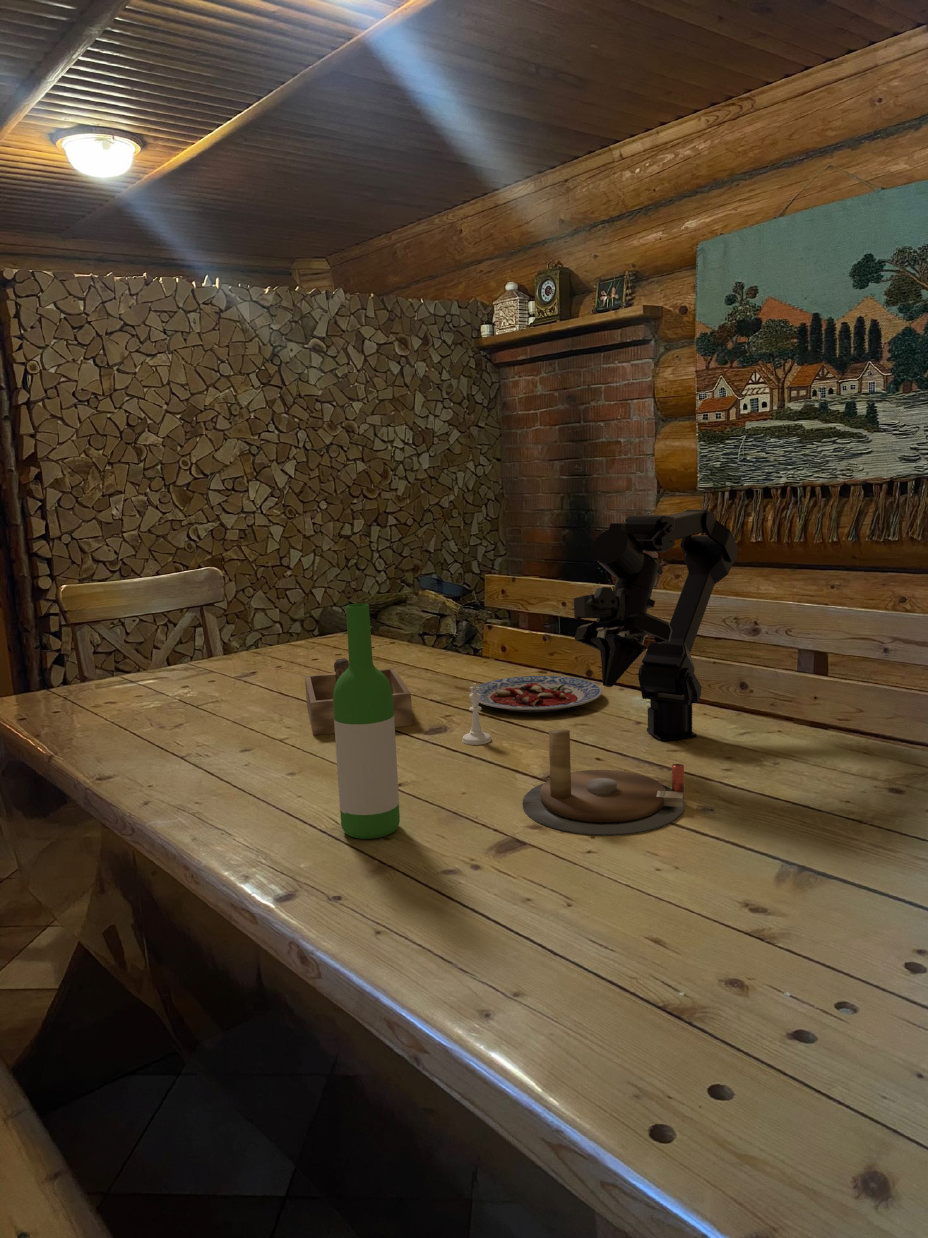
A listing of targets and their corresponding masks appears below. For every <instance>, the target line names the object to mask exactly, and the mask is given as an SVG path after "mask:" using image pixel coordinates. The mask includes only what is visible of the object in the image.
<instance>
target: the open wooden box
mask: <svg viewBox="0 0 928 1238" xmlns="http://www.w3.org/2000/svg"><path fill="white" fill-rule="evenodd" d="M378 670H380V671H381V672H382V673H383V674H384V675H385V676H386V677H387V679H388V681H389V682H390V685H391V688H392V693H393V709H394V723H395V728H399V727H400V728H401V727H411V726H413V725H414V724H413V707H412V693H411V691H410V690H409V688H408V687H407V685H406V684H405V682H404V681H403V679H402V678H401V676H400V675H399V673H398V672H397V670H396V668H395V667H392V668H390V667H389V668H382V669H378ZM335 674H336V672H335V673H333V672H332V673H323V674H311V675H304V680H305V681H304V684H305V685H304V686H305V699H306V708H307V712H308V718H309V722H310V728H311V733H312V736H320V735H327V734H328V735H329V734H330V735H331V734H335V725H334V707H333V692H334V687H335V680H336V678H335Z"/></svg>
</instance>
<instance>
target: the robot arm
mask: <svg viewBox="0 0 928 1238" xmlns="http://www.w3.org/2000/svg"><path fill="white" fill-rule="evenodd" d="M624 520H625V522H610V523H609V526H608V527H609V528H608V529H607V530H604V531H603V532H601V533H600V534H599V535H598V536H597V537H596V539H595V540H594V541H593V542H592V545H591V554H592V557H593V558H594V560H595V561H597V563H598V564H600V566H601V567H603V568H604V569H605V570H606V571H607V572H608V573H609V574H610V575H611V576H612V577H614V578H616V580H615V584H614V587H613V589H612V587H610V586H607V587H606V586H602V587H599V588H596V591H595V593H594V594H593V593H592V594H587V595H582V596H578V597H574V598H573V616H574V617H573V619H575V620H582V619H596V622H592V623H591V622H590V623H587V624H586V623H585V624H583V625H580V626H578V627H577V629H576V632H575V635H574V639H573V640H574V641H577V642H579V643H581V644H584V645H586V646H589V647H591V648H593V649H595V650H597V651H599V652H600V660H601V680H602V683H601V684H602V686H604V687H606V688H612V687H613V686H614V685H615V684H616V683H617V682H618V681H619V679H620V678H621V677H622V675H624V673H625V672H626V671H627V670H628V669H629V667H630V666H631V665H632V664H633V663H634V662H635V661H636V660H637V659H638V658H639V657H640V656H641V655H642V653H643V652H645V651H646V652H645V655H644V657H643V658H642V660H641V663H642V664H641V665H640V667H639V668H638V669H639V670H638V673H637V674H638V677H637V678H638V683H639V687H640V688H639V689H640V692H641V699H643V700H650V701H649V702H650V707H647V727H646V732H647V733H649V734H651V735H652V736H653V737H655V738H657V740H659V741H661V742H662V741H663V742H665V741H673V740H680V739H681V740H683V739H691V738H697V735H698V734H697V733H696V732H694V731H693V704H698V703H699V702H700V699H701V696H702V685H701V683H700V682H699V680H698V678H697V676H696V675H695V665H694V661H693V658H692V655H691V652H692V649H693V645H694V643H695V640H696V638H697V635H698V631H699V629H700V626H701V623H702V621H703V618H704V616H705V613H706V609H707V607H708V604H709V602H710V598H711V595H712V593H713V590H714V587H715V585H716V584H717V583H719V582H720V581H722V580H723V579H724V578H725V577H726V576H728V575H729V573H730V571H731V569H732V567H733V566H734V563H735V562H736V561H737V558H738V551H739V550H738V545H737V542H736V540H735V538H734V535H733V533H732V531H731V530H730V529H729V528H728V527H727V526H725V525H724V524H722V523H721V522H720V521H719V520H717V519H716V516H715V514H714V513H713V511H712V510H709V509H686V510H683V511H681V512H677V513H673V514H664V515H663V514H660V515H659V514H657V515H656V514H630V515H628V516H627V517H626V519H624ZM704 534H706V535H704ZM680 539H681V543H680V545H679V546H680V548H681V551H682V552H683V554H684V562H685V565H686V568H687V570H688V571H687V576H686V578H685V581H684V584H683V586H682V589H681V592H680V594H679V597H678V599H677V603H676V605H675V607H674V611H673V614H672V615H671V619H670V621H666V620H664V619H661V618H660V617H656V616H654V615H652V614H650V613H648V609H651V608H654V607H655V604H656V600H654V599H651V598H652V593H653V589H654V585H655V582H656V578H657V575H658V576H661V575H663V567H662V565H661V564H660V562H659V558H658V557H654V556H652V555H650V554H649V553H648V552H650V553H651V552H652V553H653V552H654V553H665V552H667V551H669V550H670V549H672V548H673V547H674V546H675V545H676V541H677V540H680ZM605 626H606V627H605ZM648 636H652V637H654V641H651V642H650V643H649V644H648V646H646V645H644V644H645V643H644V642H645V639H646V638H647V637H648Z"/></svg>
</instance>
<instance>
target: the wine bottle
mask: <svg viewBox="0 0 928 1238" xmlns="http://www.w3.org/2000/svg"><path fill="white" fill-rule="evenodd" d="M345 611H346V613H345V614H346V629H347V631H346V632H347V634H346V635H347V648H348V649H347V650H348V661H349V667H348V669H347V670H346V671H345V672H344V673H343V674H342V675H341V676H340V677H339V678H338V680H337V682H336V684H335V687H334V692H333V707H334V725H335V733H334V737H335V754H336V755H335V756H336V767H337V768H336V769H337V785H338V786H337V787H338V788H337V789H338V798H339V801H338V802H339V811H340V812H339V813H340V824H341V828H342V830H343V832H344V833H345V834H346V835H347V836H348V837H351V838H353V839H354V838H355V839H359V840H373V839H379V838H384V837H387V836H388V835H390V834H392V833H394V832H395V831H396V830H397V829H398V827H399V825H400V823H401V821H400V820H401V819H400V818H401V817H400V814H401V813H400V795H399V781H398V780H399V778H398V777H399V776H398V762H397V743H396V727H395V723H394V709H393V693H392V688H391V685H390V682H389V681H388V679H387V677H386V676H385V675H384V674H383V673H382V672H381V671H380V670H379V669H378V668H377V667H376V666H375V665H374V662H373V646H372V645H373V644H372V633H371V631H372V630H371V618H370V617H371V616H370V605H369V604H368V603H363V602H362V603H361V602H360V603H351V604H347V605H346V607H345Z"/></svg>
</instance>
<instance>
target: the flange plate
mask: <svg viewBox="0 0 928 1238" xmlns="http://www.w3.org/2000/svg"><path fill="white" fill-rule="evenodd" d="M570 732H571V731H570V729H567V728H560V727H558V728H553V729H549V731H548V751H549V754H548V755H549V757H548V758H549V779H548V780H547V781H545V782H543V783H544V784H543V783H542V784H543V785H542V787H541V790H540V798H541V803H542V805H543V806H544V807H545V808H547V809H548V810H549V811H551V812H553V813H555V814H558V815H560V816H564V817H567V818H571V819H576V820H583V821H592V822H618V821H627V820H634V819H639V818H642V817H646V816H649V815H651V814H653V813H656V812H657V811H659V810H660V809H661V808H662V807H663V806H674V807H682V806H683V801H684V802H685V791H684V792H673V791H665V788H664V786H663V785H664V784H663V783H661V782H660V781H658V780H656V779H655V778H651V777H649V776H646V775H644V774H640V773H636V772H631V771H626V770H618V769H617V770H615V769H588V770H587V769H586V770H577V771H572V769H571V735H570V734H571V733H570ZM571 771H572V772H571ZM662 784H663V785H662Z"/></svg>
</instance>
